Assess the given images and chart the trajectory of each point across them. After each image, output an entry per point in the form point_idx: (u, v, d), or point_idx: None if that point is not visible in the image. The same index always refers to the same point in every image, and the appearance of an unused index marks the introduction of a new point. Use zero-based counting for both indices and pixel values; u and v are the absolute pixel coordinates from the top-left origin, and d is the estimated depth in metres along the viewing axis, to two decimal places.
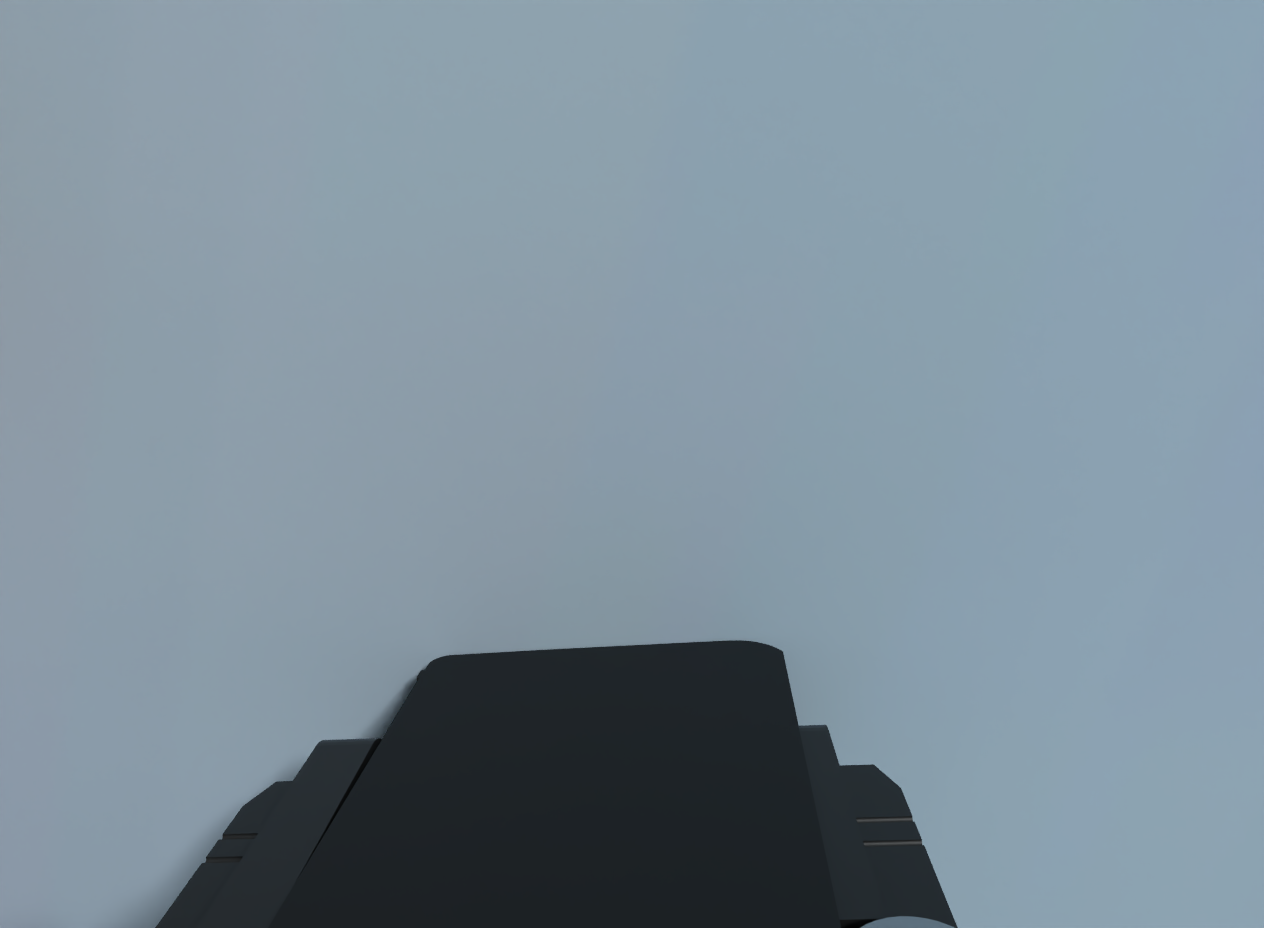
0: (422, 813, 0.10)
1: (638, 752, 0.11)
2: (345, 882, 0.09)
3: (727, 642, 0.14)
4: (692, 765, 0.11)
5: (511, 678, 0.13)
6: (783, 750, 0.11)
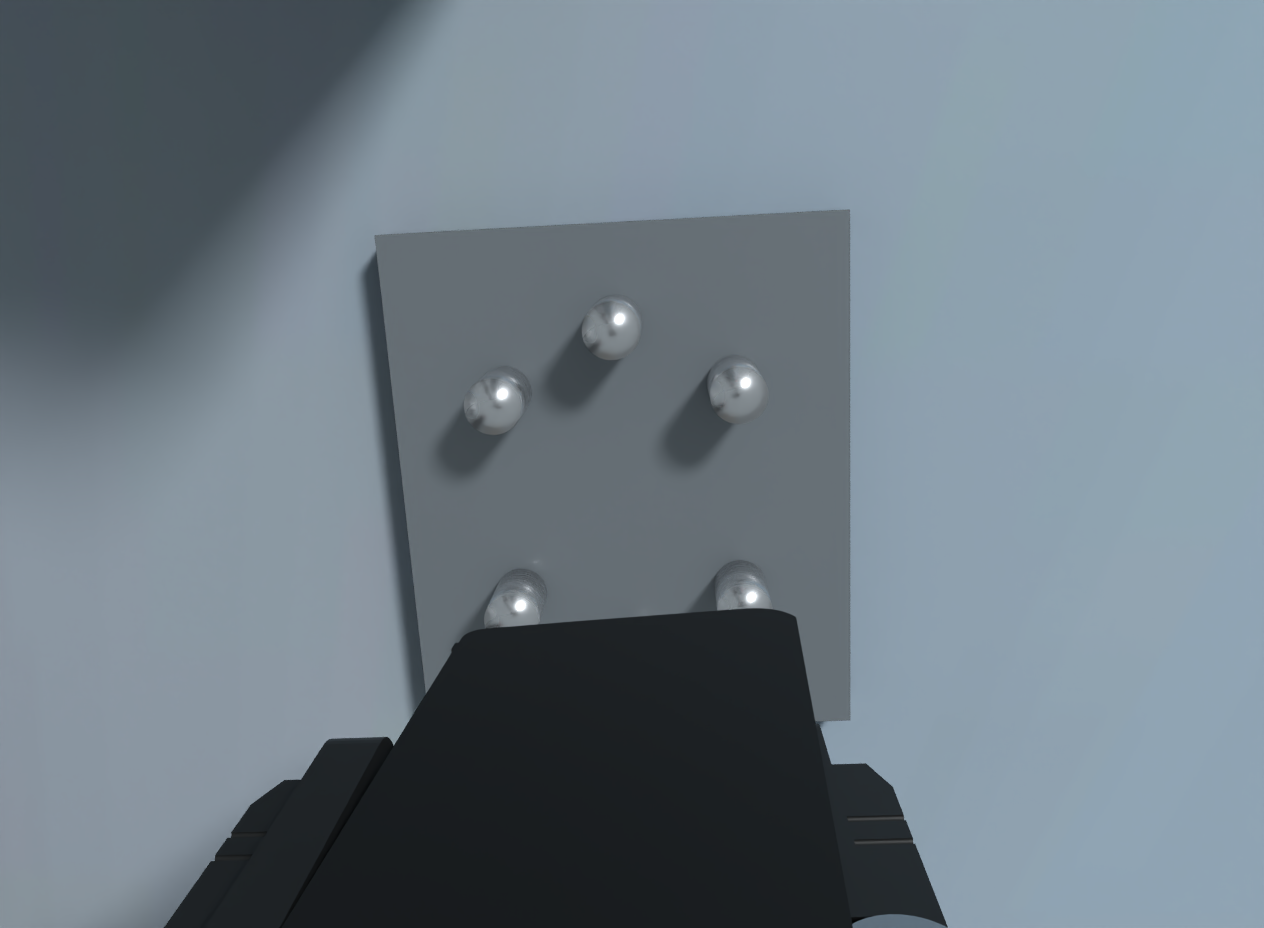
0: (456, 767, 0.11)
1: (657, 710, 0.12)
2: (387, 828, 0.10)
3: (743, 610, 0.15)
4: (707, 720, 0.12)
5: (538, 647, 0.14)
6: (793, 705, 0.12)
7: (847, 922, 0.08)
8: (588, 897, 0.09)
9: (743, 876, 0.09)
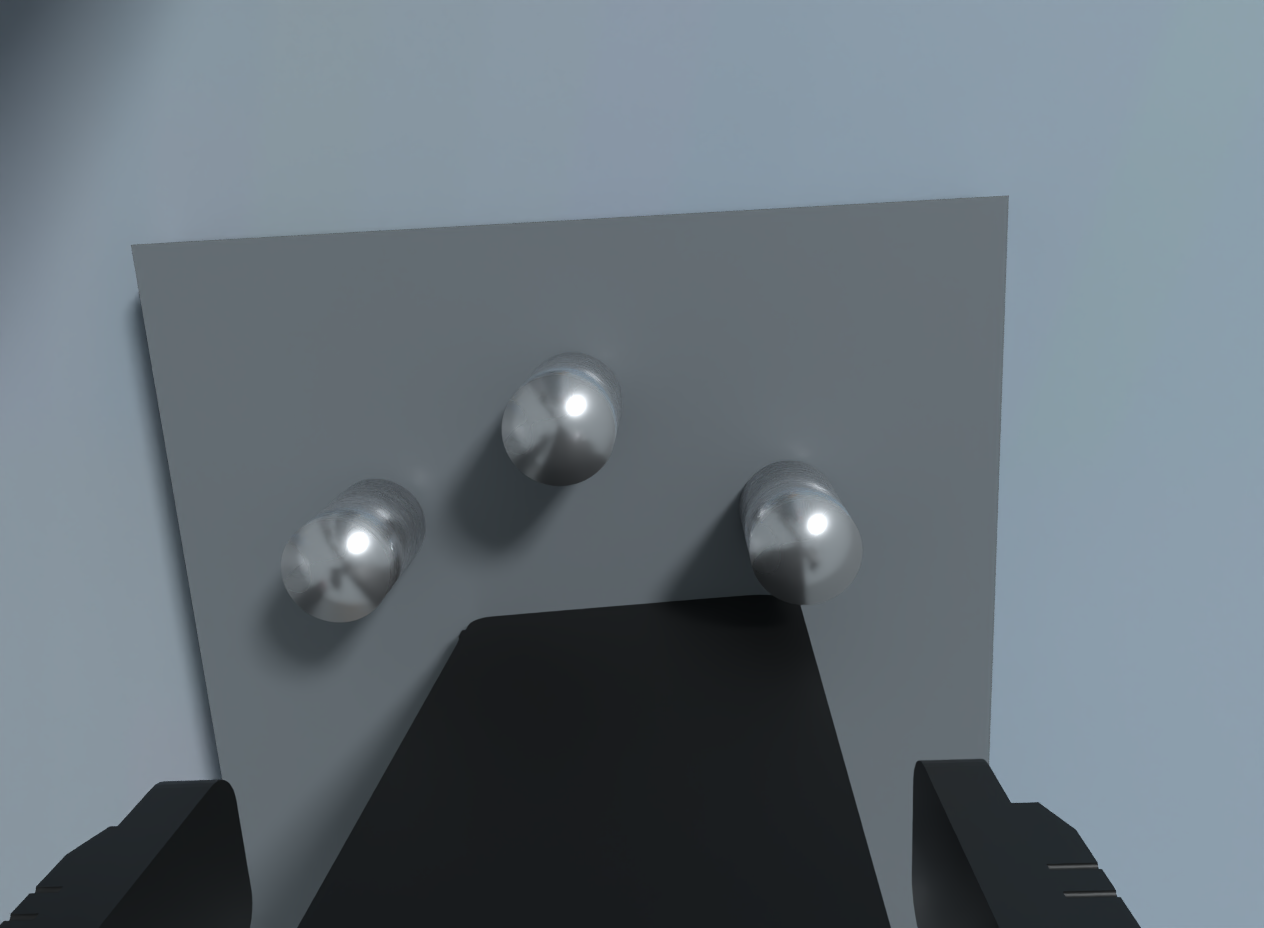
0: (474, 747, 0.11)
1: (670, 691, 0.12)
2: (410, 804, 0.10)
3: (747, 596, 0.15)
4: (720, 699, 0.12)
5: (546, 633, 0.14)
6: (803, 684, 0.12)
7: (874, 883, 0.08)
8: (618, 865, 0.09)
9: (769, 842, 0.09)
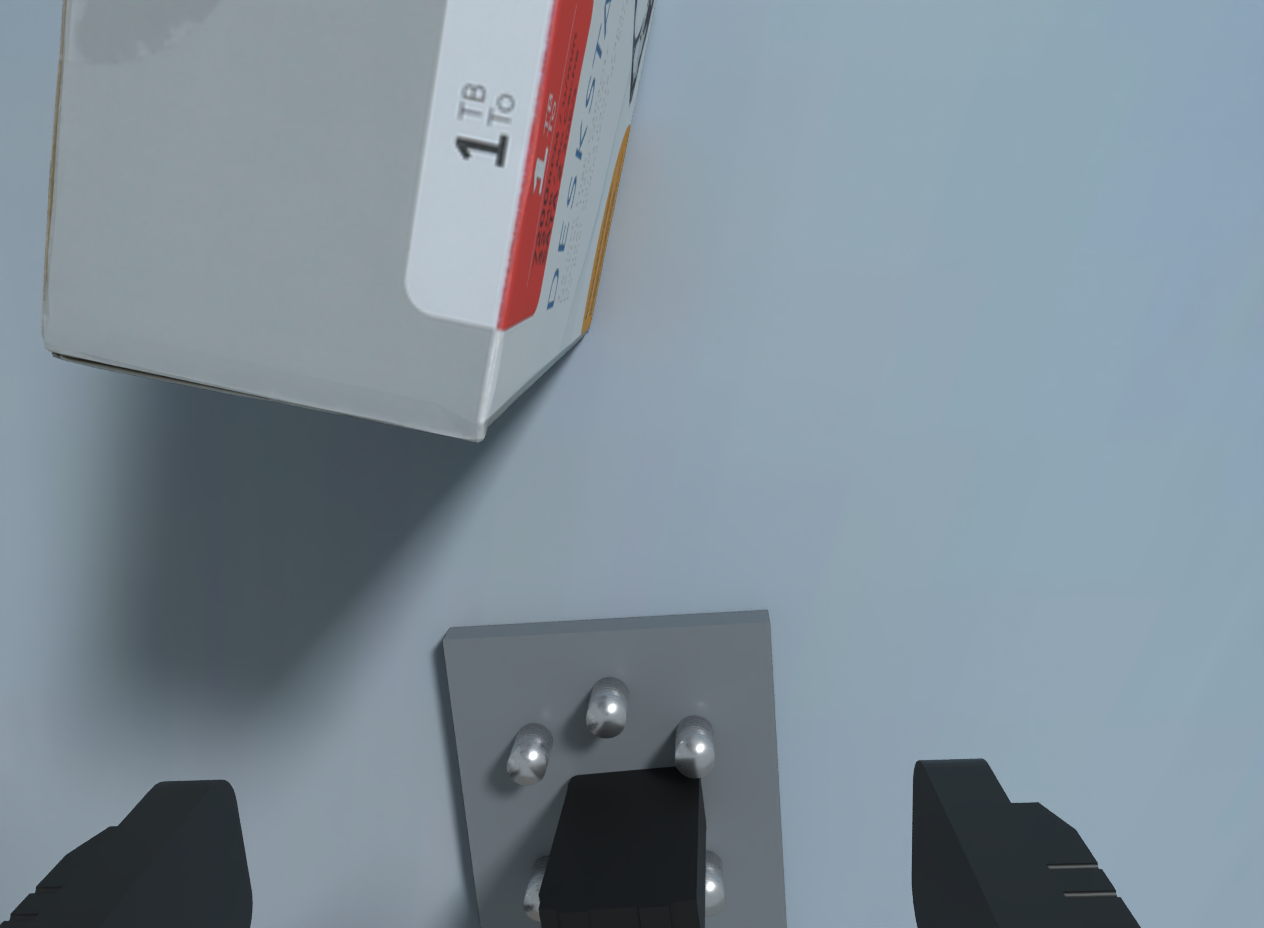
0: (581, 834, 0.34)
1: (646, 812, 0.35)
2: (563, 854, 0.33)
3: None
4: (663, 815, 0.34)
5: (601, 784, 0.37)
6: (692, 810, 0.34)
7: (695, 876, 0.31)
8: (627, 872, 0.32)
9: (670, 865, 0.32)
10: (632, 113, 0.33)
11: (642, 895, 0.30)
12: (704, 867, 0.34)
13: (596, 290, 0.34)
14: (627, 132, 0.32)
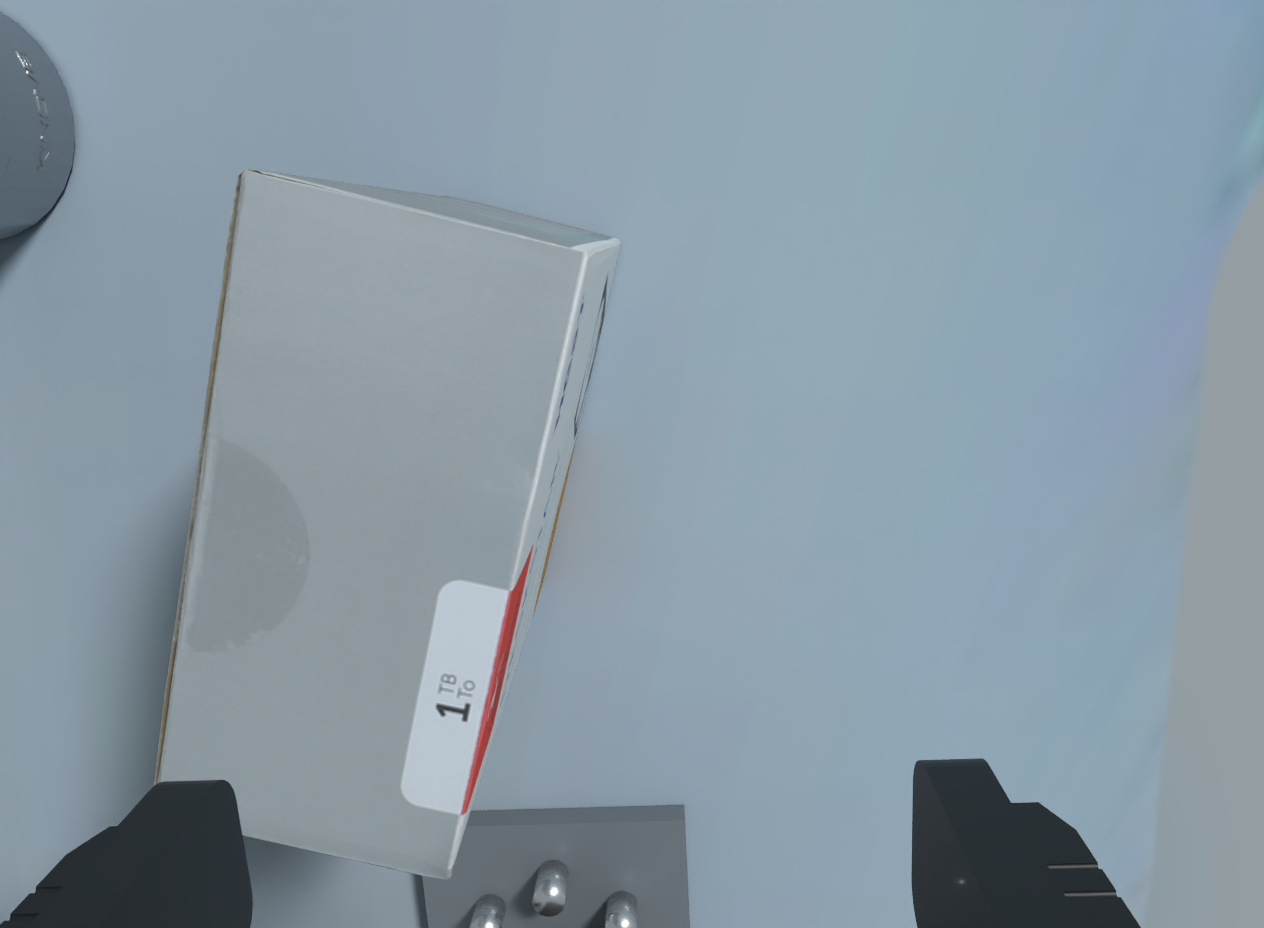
0: None
1: None
2: None
3: None
4: None
5: None
6: None
7: None
8: None
9: None
10: (578, 428, 0.41)
11: None
12: None
13: (547, 562, 0.42)
14: (573, 447, 0.40)
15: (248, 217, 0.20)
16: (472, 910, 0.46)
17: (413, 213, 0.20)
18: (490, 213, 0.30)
